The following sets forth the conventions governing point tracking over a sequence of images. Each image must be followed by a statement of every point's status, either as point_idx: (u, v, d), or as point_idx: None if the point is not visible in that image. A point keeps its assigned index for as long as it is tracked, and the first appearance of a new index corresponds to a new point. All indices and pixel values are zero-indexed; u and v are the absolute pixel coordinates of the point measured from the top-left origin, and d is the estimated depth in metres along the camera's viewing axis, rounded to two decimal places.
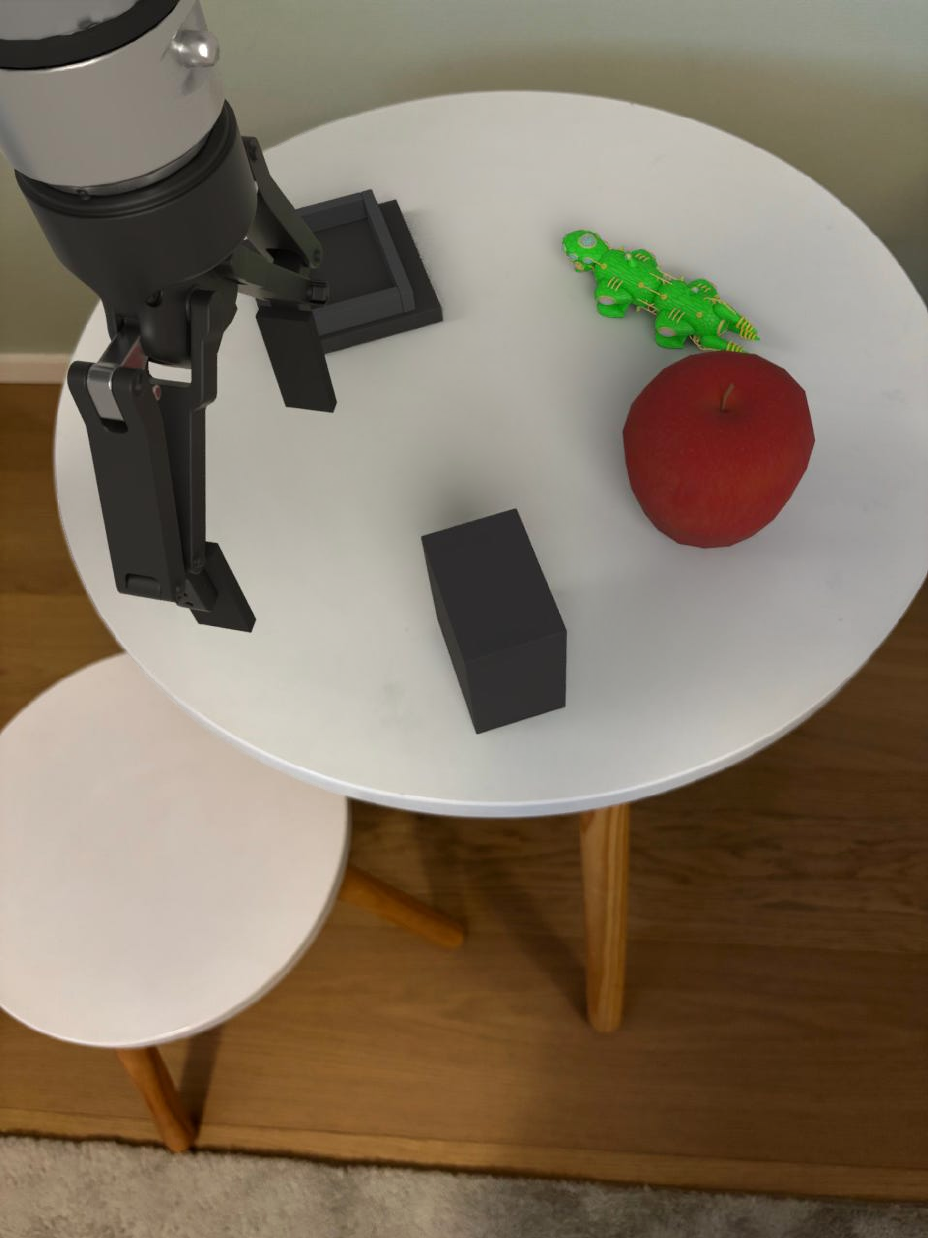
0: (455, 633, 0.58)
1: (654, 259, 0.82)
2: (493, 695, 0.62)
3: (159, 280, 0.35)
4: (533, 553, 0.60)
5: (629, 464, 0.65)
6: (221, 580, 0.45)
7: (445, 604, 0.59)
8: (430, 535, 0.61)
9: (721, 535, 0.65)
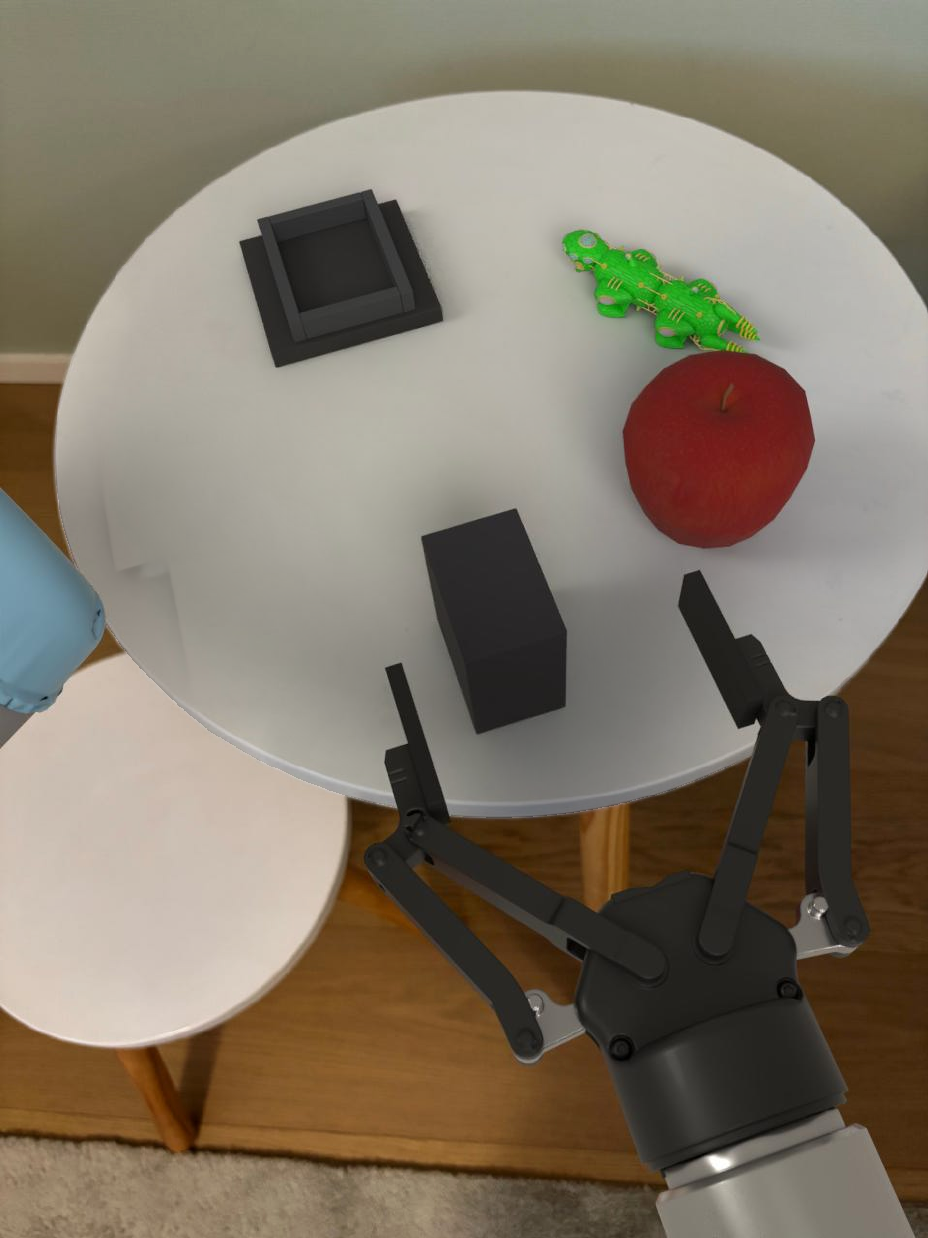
0: (455, 633, 0.58)
1: (654, 259, 0.82)
2: (493, 695, 0.62)
3: None
4: (533, 553, 0.60)
5: (629, 464, 0.65)
6: None
7: (445, 604, 0.59)
8: (430, 535, 0.61)
9: (721, 535, 0.65)
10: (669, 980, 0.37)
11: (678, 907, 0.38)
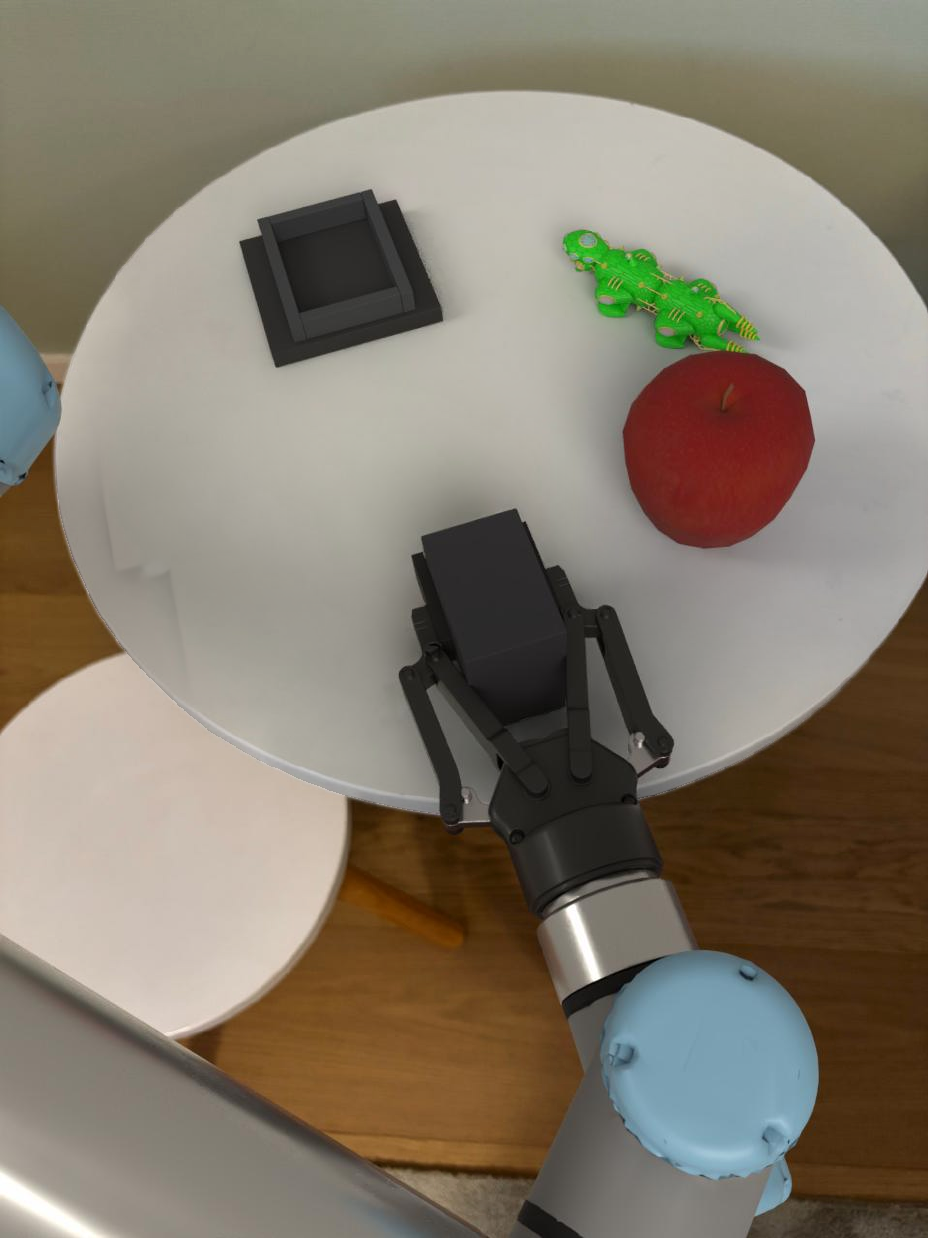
0: (455, 633, 0.58)
1: (654, 259, 0.82)
2: (493, 695, 0.62)
3: None
4: (533, 553, 0.60)
5: (629, 464, 0.65)
6: None
7: (445, 604, 0.59)
8: (430, 535, 0.61)
9: (721, 535, 0.65)
10: (550, 796, 0.56)
11: (559, 751, 0.57)
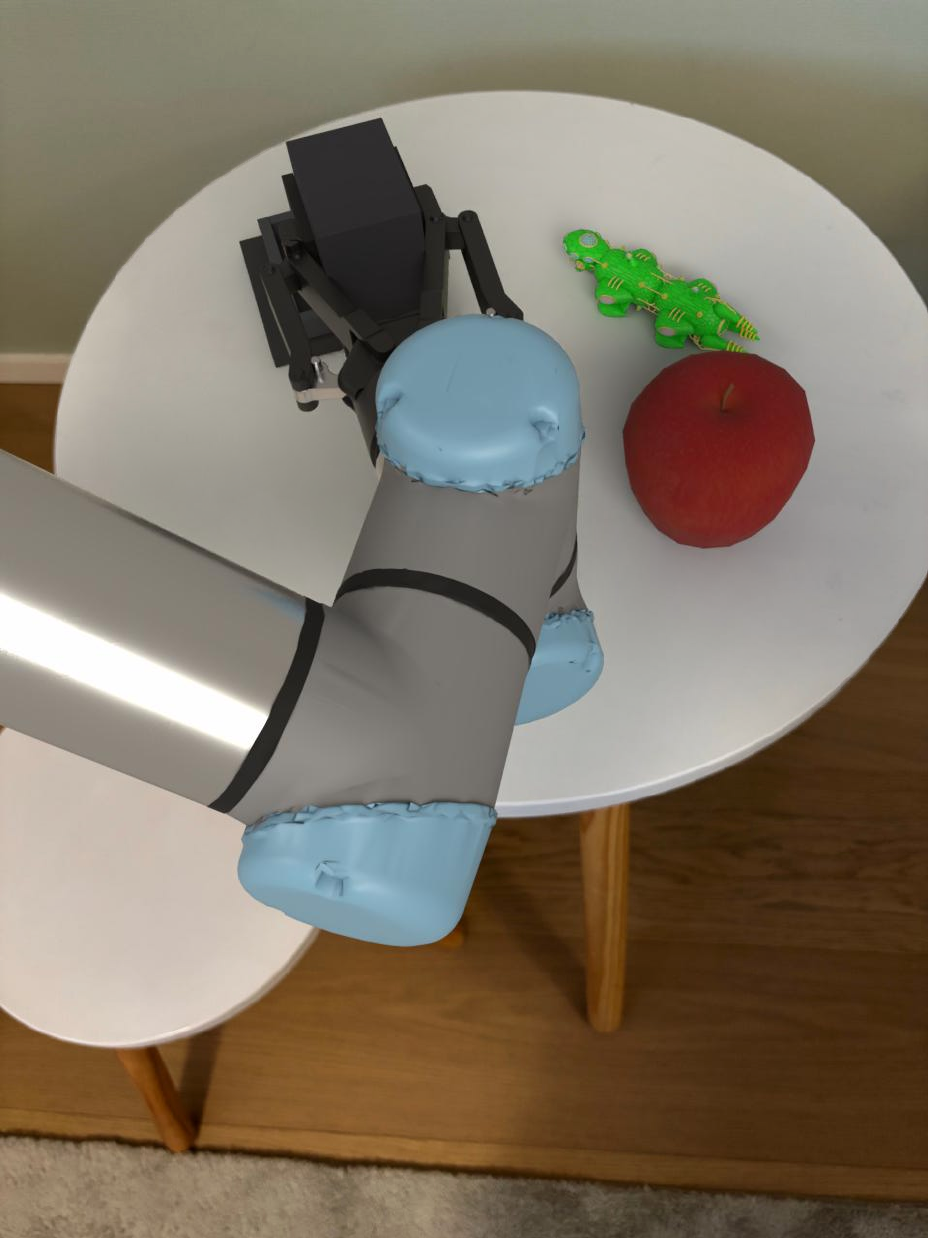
0: (311, 215, 0.59)
1: (655, 259, 0.82)
2: (357, 301, 0.62)
3: None
4: (394, 151, 0.61)
5: (629, 464, 0.65)
6: None
7: (303, 193, 0.59)
8: (294, 140, 0.62)
9: (721, 535, 0.65)
10: None
11: (411, 325, 0.58)
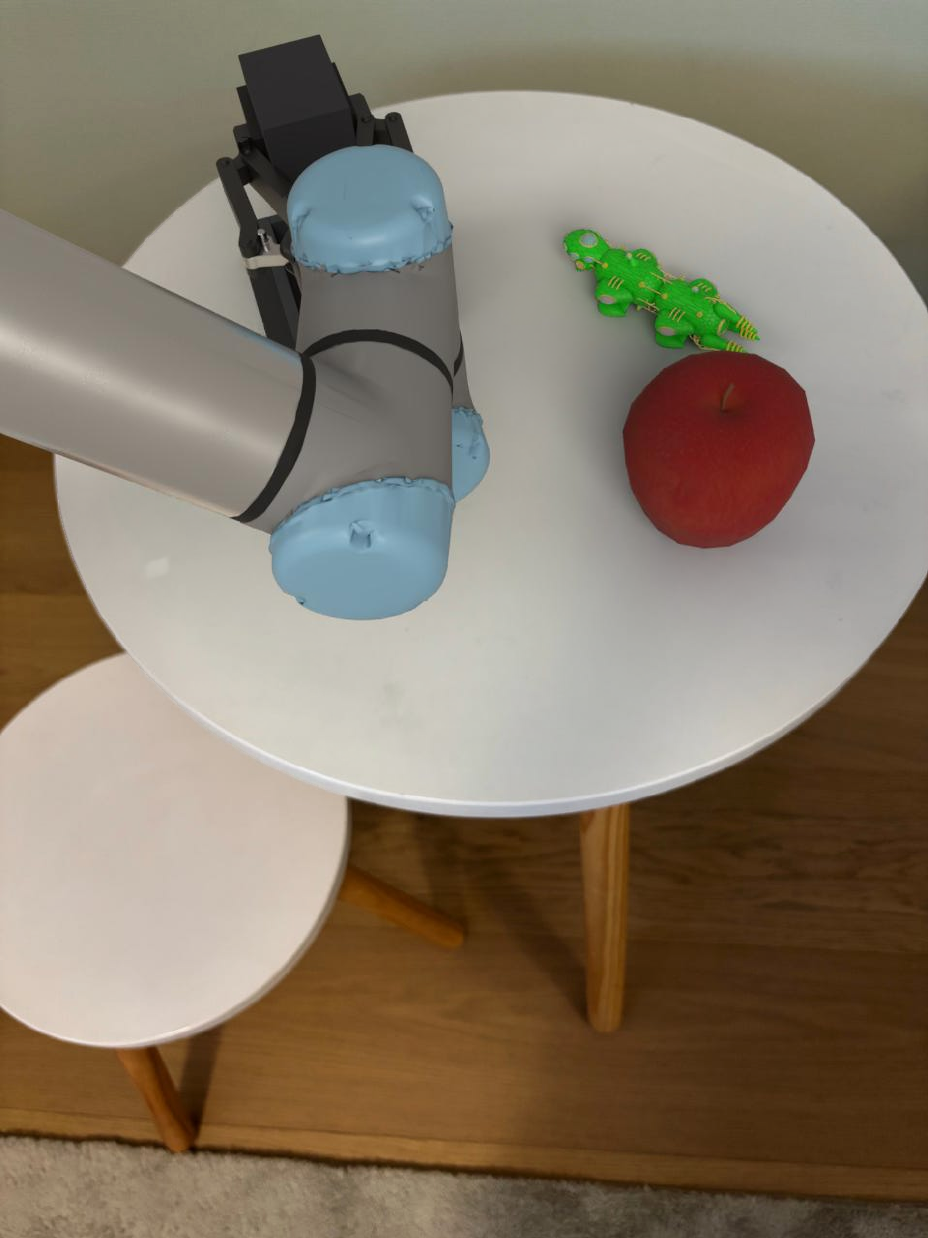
0: (257, 112, 0.69)
1: (655, 258, 0.82)
2: None
3: None
4: (329, 60, 0.72)
5: (629, 464, 0.65)
6: None
7: (252, 95, 0.70)
8: (245, 53, 0.73)
9: (721, 535, 0.65)
10: None
11: None
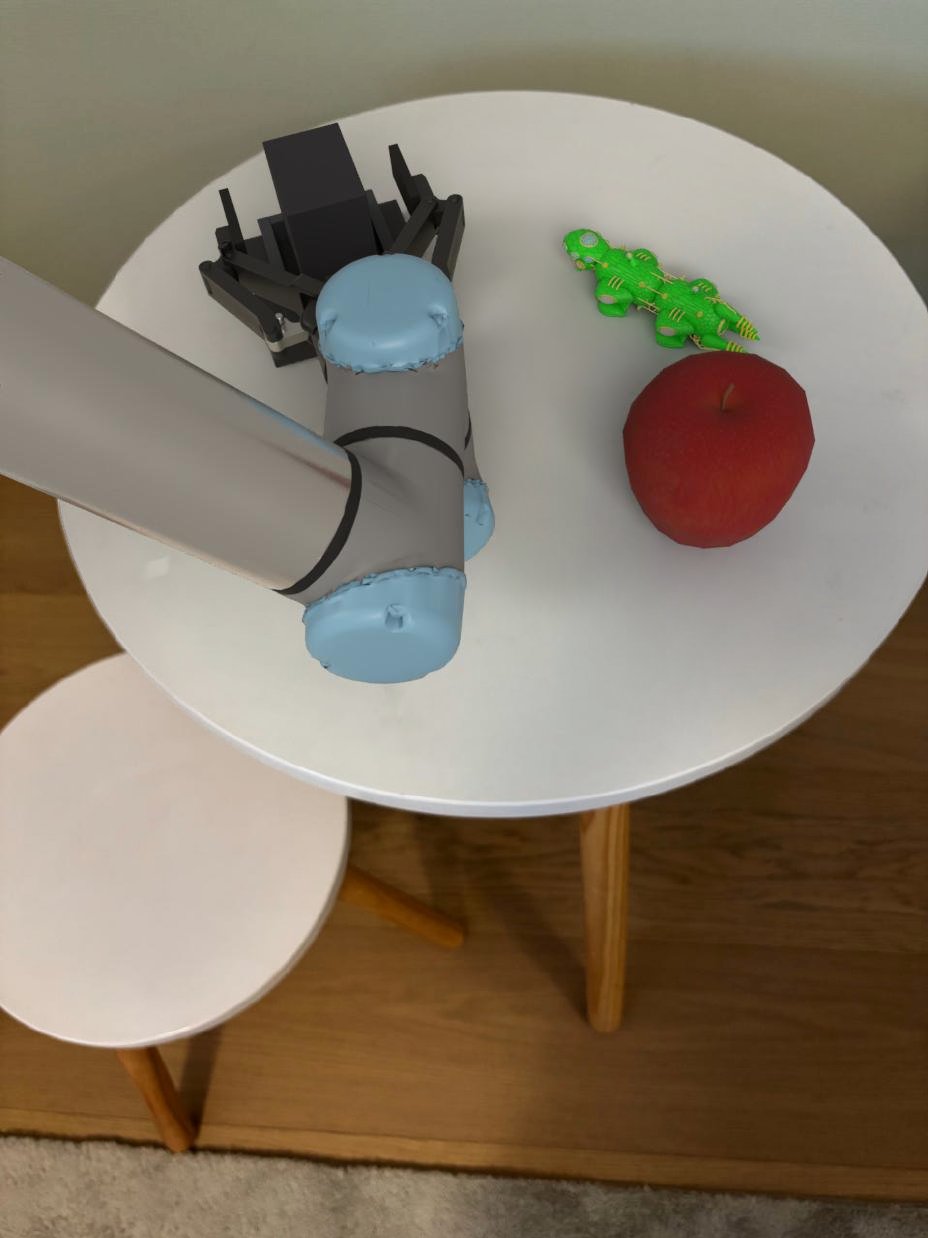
0: (281, 198, 0.75)
1: (655, 258, 0.82)
2: (319, 267, 0.79)
3: None
4: (347, 148, 0.78)
5: (629, 464, 0.65)
6: None
7: (276, 181, 0.76)
8: (269, 140, 0.79)
9: (721, 535, 0.65)
10: None
11: None
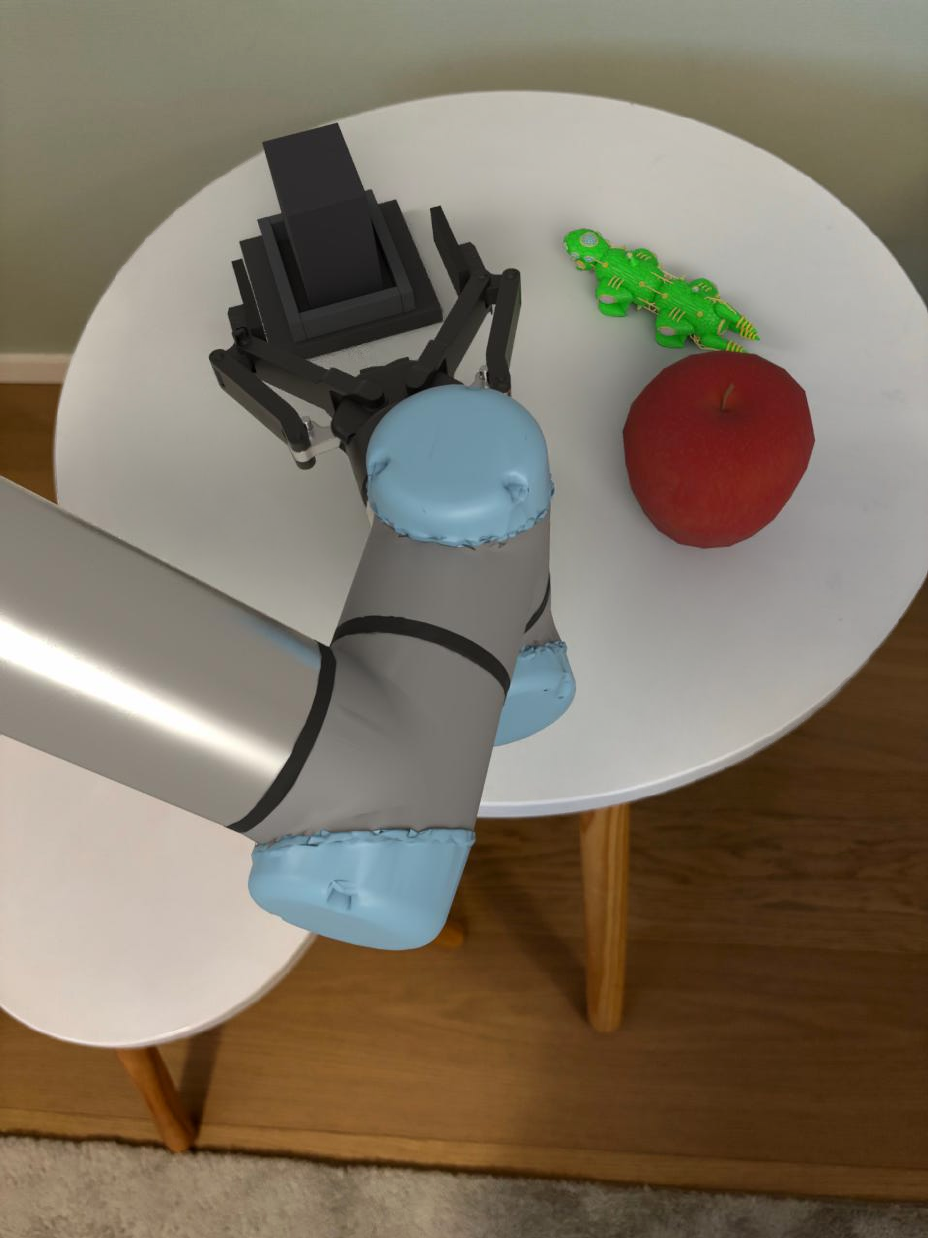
0: (281, 198, 0.75)
1: (655, 258, 0.82)
2: (319, 267, 0.79)
3: None
4: (347, 148, 0.78)
5: (629, 464, 0.65)
6: None
7: (276, 181, 0.76)
8: (269, 140, 0.79)
9: (721, 535, 0.65)
10: (387, 407, 0.61)
11: (398, 373, 0.62)
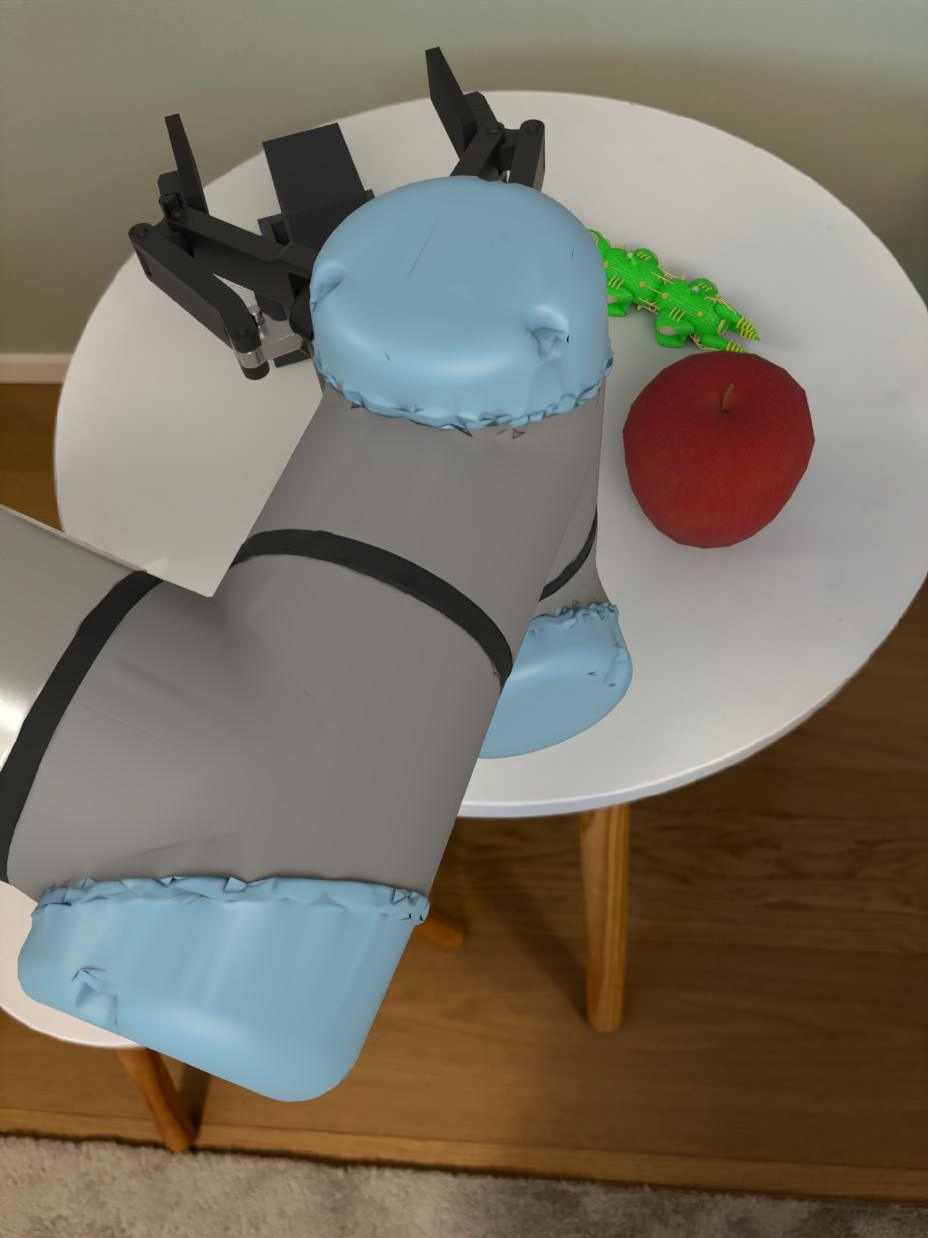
0: (281, 198, 0.75)
1: (656, 258, 0.82)
2: None
3: None
4: (347, 148, 0.78)
5: (629, 464, 0.65)
6: None
7: (276, 181, 0.76)
8: (269, 140, 0.79)
9: (721, 535, 0.65)
10: None
11: None
